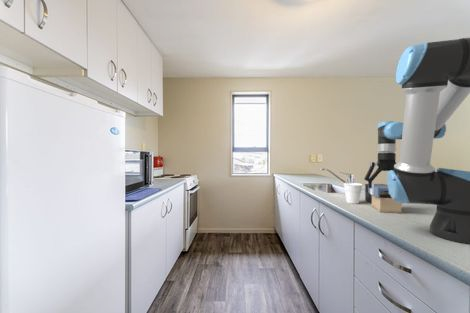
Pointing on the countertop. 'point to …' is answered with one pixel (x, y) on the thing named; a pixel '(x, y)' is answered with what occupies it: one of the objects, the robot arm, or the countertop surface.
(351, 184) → the cup
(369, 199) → the small box
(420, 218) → the countertop surface
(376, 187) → the lid
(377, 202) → the tray
